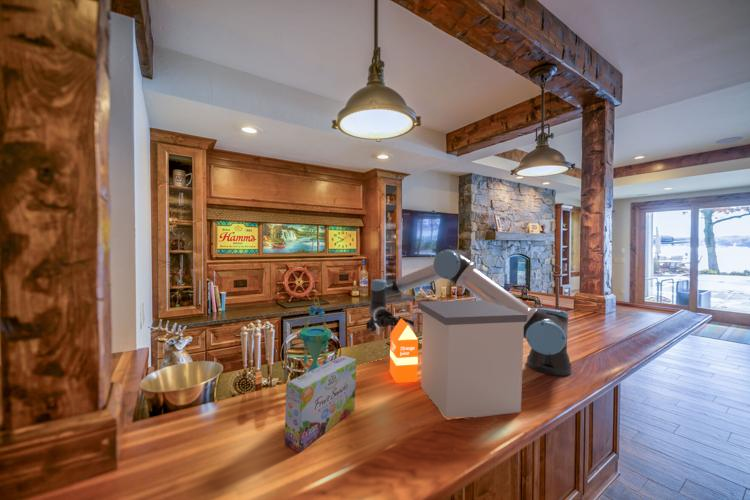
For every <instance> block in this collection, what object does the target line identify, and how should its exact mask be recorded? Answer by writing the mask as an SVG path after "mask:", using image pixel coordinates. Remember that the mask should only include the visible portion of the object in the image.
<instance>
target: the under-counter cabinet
mask: <svg viewBox="0 0 750 500" xmlns="http://www.w3.org/2000/svg"><path fill="white" fill-rule="evenodd" d="M417 308H418V310H421V311H422V321H421V322H422V323H421V324H422V327H421V365H420V369H421V370H420V372H421V373H420V388H421V389H422V390H423V392H424V393H425V395H426V396H427V395H428V396H429V397H428V396H427V397H428V398H429V400H430V399H431V400H432V401H433V402H434V403H435V405H436V406H437V407H438V409H439V410H440V411H441V412H442V413H443V415H444V416H445V417H446V418H453V417H473V418H482V417H490V416H498V415H499V416H501V415H506V414H508V415H509V414H516V413H517V414H518V413H521V412H522V389H523V388H522V387H523V363H524V362H523V358H524V337H523V334H524V322H527V314H524V313H521V312H518V311H515V310H512V309H509V308H506V307H503V306H500V305H497V304H494V303H491V302H488V301H486V300H481V299H479V300H449V301H448V300H444V301H443V300H442V301H441V300H440V301H418V302H417ZM431 400H430V401H431ZM432 401H431V402H432ZM433 402H432V403H433ZM435 405H434V406H435ZM436 406H435V407H436ZM438 409H437V410H438ZM439 410H438V411H439Z"/></svg>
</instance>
